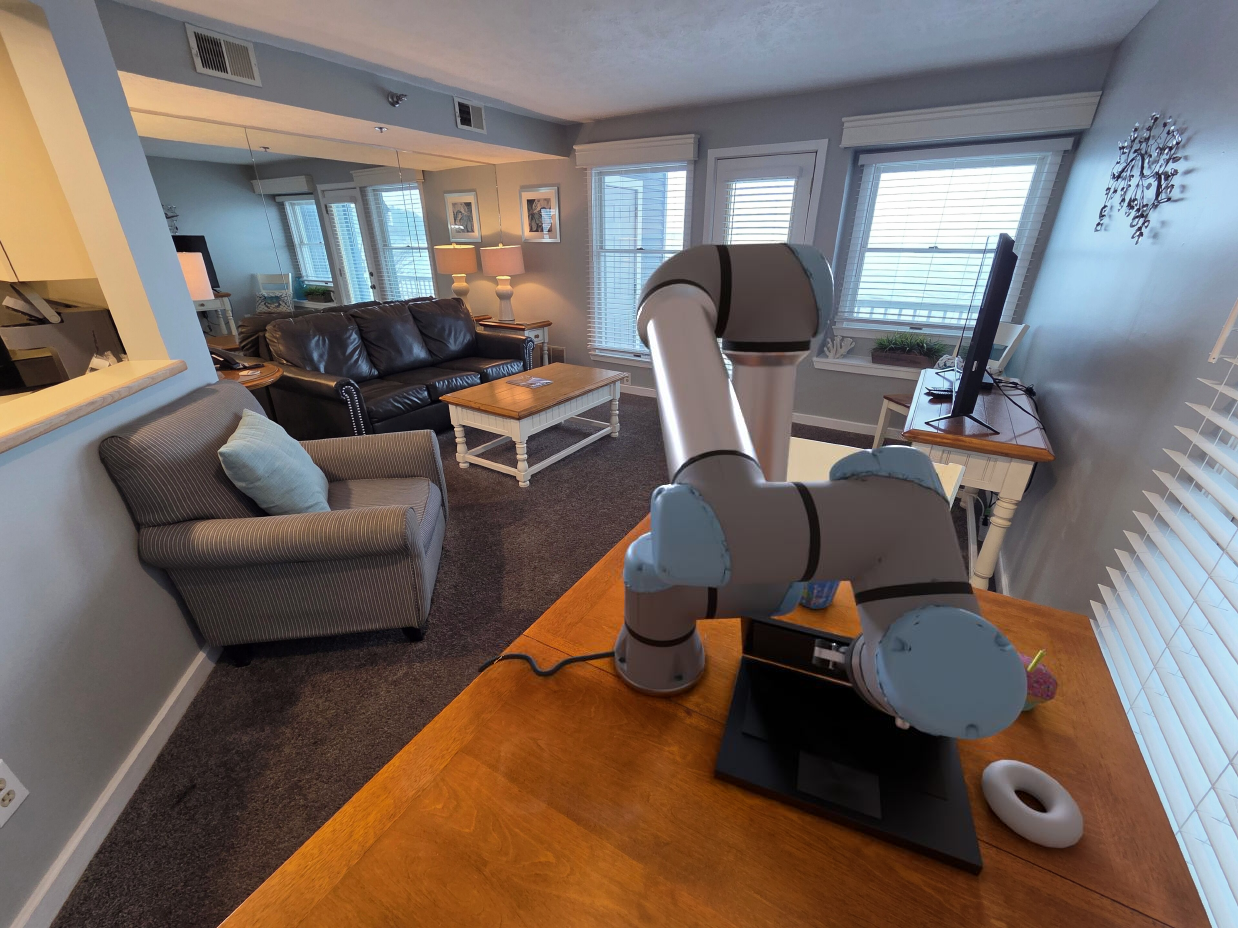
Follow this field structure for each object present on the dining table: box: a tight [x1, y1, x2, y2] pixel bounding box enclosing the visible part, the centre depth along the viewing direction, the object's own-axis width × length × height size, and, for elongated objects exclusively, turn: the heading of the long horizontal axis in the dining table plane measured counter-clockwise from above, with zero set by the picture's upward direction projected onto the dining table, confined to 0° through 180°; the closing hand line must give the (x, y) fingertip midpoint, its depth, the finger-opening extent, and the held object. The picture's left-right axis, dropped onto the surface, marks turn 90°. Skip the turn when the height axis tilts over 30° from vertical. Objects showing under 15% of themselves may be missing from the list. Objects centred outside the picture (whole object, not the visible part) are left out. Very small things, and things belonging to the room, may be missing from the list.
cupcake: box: [1018, 648, 1059, 712], centre depth 75 cm, size 9×8×12 cm
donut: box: [980, 759, 1085, 849], centre depth 62 cm, size 10×4×10 cm
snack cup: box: [799, 581, 842, 610], centre depth 96 cm, size 16×10×10 cm
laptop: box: [713, 654, 984, 877], centre depth 70 cm, size 21×30×2 cm
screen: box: [739, 610, 856, 685], centre depth 70 cm, size 21×30×1 cm
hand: (856, 667), depth 64 cm, fingers closed
